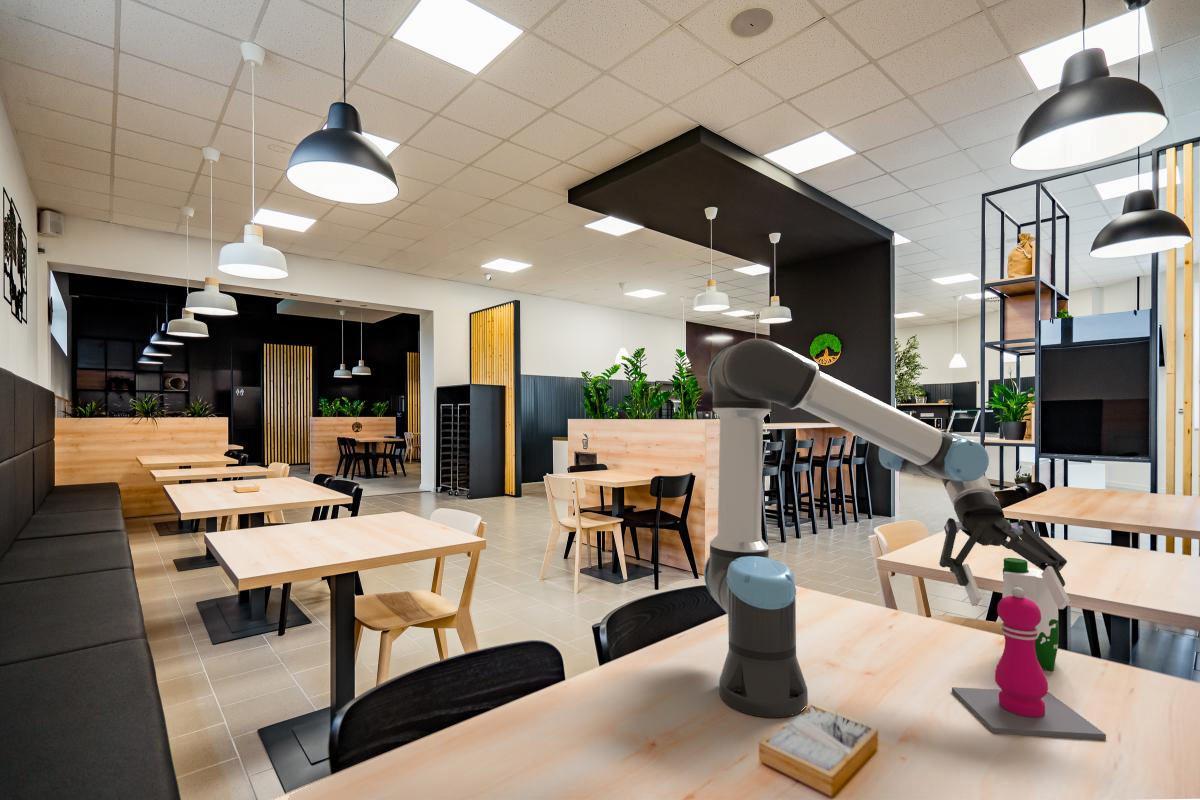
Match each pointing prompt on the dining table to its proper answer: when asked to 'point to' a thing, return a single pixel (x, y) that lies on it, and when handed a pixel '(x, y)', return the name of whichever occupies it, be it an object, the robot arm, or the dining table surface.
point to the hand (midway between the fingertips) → (1020, 603)
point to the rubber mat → (1053, 723)
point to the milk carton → (1039, 593)
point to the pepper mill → (1020, 657)
